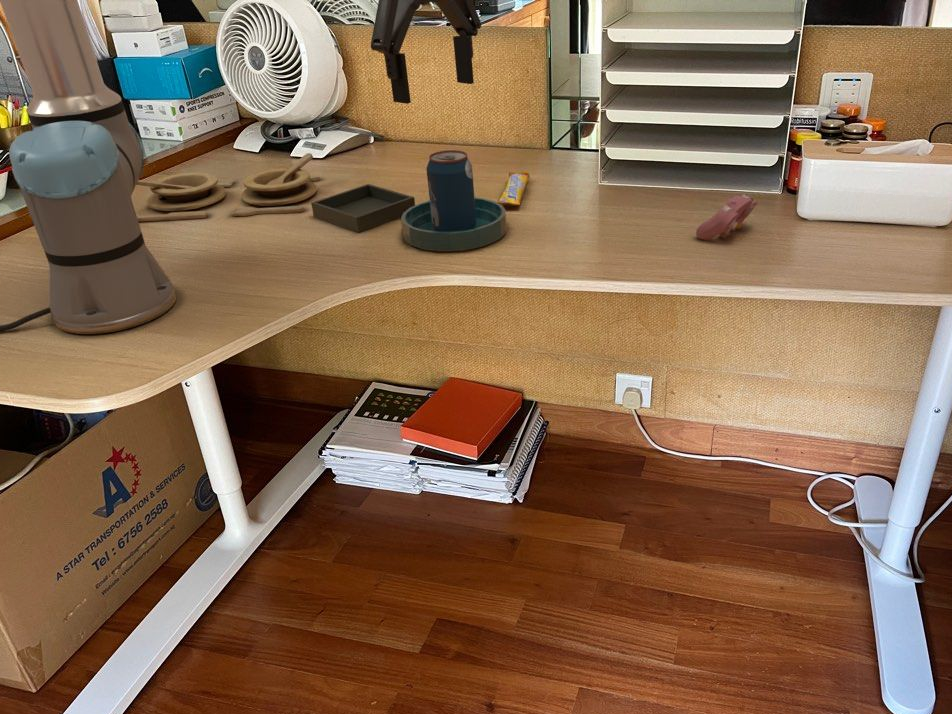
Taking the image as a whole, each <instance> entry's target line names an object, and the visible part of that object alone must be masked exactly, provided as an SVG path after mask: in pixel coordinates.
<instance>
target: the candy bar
mask: <svg viewBox="0 0 952 714" xmlns="http://www.w3.org/2000/svg"><path fill="white" fill-rule="evenodd" d="M508 178H509V179H508V181H507V184H506V186H505V189H504V190H503V192H502V194H501V196H500V198H499V200H498V201H496V202H497V203H499V204H501V205H502V206H509V207H511V206H512V207H513V206H514V207H515V206H521V201H522V198H523V197H524V193H525V190H526V187H527V184H528V181H529V179H530V178H531V177H530V173H529V172H528V171H520V172H518V173H516V172H508Z"/></svg>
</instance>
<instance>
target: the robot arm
mask: <svg viewBox="0 0 952 714" xmlns="http://www.w3.org/2000/svg"><path fill="white" fill-rule="evenodd" d="M429 3H435V4H436V6H437V7H438V9H439V10H440V11H441V13H442V14H443V16H444V18H446V20H447V21H448V23H449V24H450V26H451V27H452V28H453V30H454V31H455V33H456V34H457V35H454V36H452V39H453V51H454V61H455V70H456V71H455V73H456V74H455V75H456V83H458V84H466V85H472V84H474V83H475V81H474V69H473V68H474V67H473V59H474V48H473V47H474V46H473V37H477V35H478V34H479V33H478V31H479V30H480V29H481V27H482V21H481V19H480V17H479V14H478V12H477V9H476V6H475V4H474V1H473V0H378V3H377V8H376V12H375V13H376V14H375V19H374V25H373V29H372V35H371V40H370V48H371V50H372V51H376V52H378V53H379V54H383V56H384V63H385V70H386V76H387V79H388V80H389V79H390V87H391V93H392V101H393V102H394V103H398V104H399V103H400V104H405V105H406V104H407V105H408V104H411V103H412V100H411V93H410V84H409V77H408V68H407V60H406V53H405V52H404V53H403V52H401V49H402V47H403V44H404V41H405V39H406V37H407V34H408V31H409V28H410V27H411V23H412V20H413V18H414V15H415V13H416V11H417V10H419V9H420V7H421V6H423V5H427V4H429ZM0 6H1V10H2V12H3V14H4V17H5V20H6V23H7V25H8V28H9V31H10V34H11V36H12V39H13V42H14V44H15V45H14V46H15V47H16V50H17V52H18V56H19V59H20V61H21V64H22V66H23V69H24V71H25V75H26V77H27V81H28V83H29V86H30V89H31V91H32V99H31V101H30V102H29V104H28V106H27V107H26V109H25V111H26V114H27V117H28V120H29V122H30V125H31V129H32V130H27V131H25V132H22V133H21V134H20V135H19V136H17V137H16V138H15V139H14V140H13V141H12V143H11V144H10V147H9V150H8V156H9V160H10V164H11V171H12V175H13V177H14V180H15V182H16V183H17V185H18V187H19V189H20V191H21V194H22V197H23V200H24V202H25V204H26V205H25V206H26V207H27V210H28V213H29V215H30V218H31V220H32V223H33V225H34V229H35V231H36V234H37V236H38V239H39V241H40V244H41V246H42V249H43V252H44V254H45V257H46V260H47V263H48V267H49V306H48V307H46V308H43V309H40V310H38V311H35V312H33V313H30V314H28V315H26V316H23V317H21V318H19V319H17V320H15V321H12V322H10V323H6V324H1V325H0V332H5V331H10V330H13V329H15V328H18V327H20V326H23V325H24V324H27V323H29V322H31V321H33V320H36V319H38V318H41V317H43V316H46V315H49V314H50V315H51V317H52V320H53V322H54V325H55V326H56V327H57V328H58V329H60V330H61V331H64V332H66V333H70V334H77V335H98V334H99V335H100V334H107V333H112V332H113V333H115V332H119V331H123V330H128V329H131V328H134V327H137V326H138V327H139V326H140V325H143V324H146V323H148V322H151V321H152V320H156V319H157V318H158V317H160V316H162V315H163V314H165V313H166V312H167V311H169V310H170V309H171V308H172V307H173V306H174V304H175V303H176V301H177V295H176V291H175V288H174V285H173V284H172V281H171V279H170V277H169V276H168V274H166V272H165V270H163V268H162V267H161V265H160V264H159V262H158V261H157V259H156V258H155V256H154V255H153V254H152V252H151V251H150V250H149V248H148V247H147V245H146V242H145V239H144V236H143V232H142V229H141V226H140V222H138V219H137V216H138V215H137V212H136V209H135V206H134V202H133V199H132V195H133V193H134V191H135V189H136V187H137V185H136V184H137V182H138V180H141V179H140V178H141V176H142V173H143V169H144V165H145V163H144V161H145V154H144V148H143V144H142V141H141V139H140V136H139V134H138V133H137V131H136V130H135V128H134V127H133V125H132V124H131V123H130V122H129V119H128V116H127V112H126V109H125V106H124V103H123V100H122V97H121V96H120V95H119V94H118V93H117V92H115V91H114V90H112V89H111V88H109V87H108V86H107V85H106V84H105V83H104V80H103V76H102V73H101V71H100V70H101V69H100V67H99V64H98V63H99V62H98V61H97V57H96V53H95V51H94V48H93V44H92V42H91V38H90V35H89V31H88V29H87V26H86V23H85V20H84V16H83V14H82V10H81V7H80V4H79V1H78V0H0Z"/></svg>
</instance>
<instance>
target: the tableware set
mask: <svg viewBox="0 0 952 714" xmlns="http://www.w3.org/2000/svg"><path fill="white" fill-rule="evenodd" d="M313 159H314V156H313V154H312V153H311V152H308V153H305V154H304V155H302V156H301V158H299V159H298V160H297V161H296V162H295V163H294V164H293V165H292V166H290V167H287V168H286V167H283V168H282V167H281V168H274V169H273V168H272V169H266V170H262V171H259V172H255V173H253V174H250V175H248V176H246V178H244V179H243V182H242V183H243V187H244V188H245V189H244V190H243V191H242V192H241V199H242V200H243V201H244V202H245V203H247V204H250V205H254V206H263V207H261V208H260V207H252V206H248V207H247V206H245V207H244V206H243V207H235V208H234V210H233V211H232V212H231V214H230V215H231V216H233V217H234V216H237V217H238V216H239V217H243V216H245V217H247V216H253V215H260V214H261V215H264V214H265V215H266V214H294V213H303V212H305V206H303V205H291V204H295V203H298V202H301V201H304V200H307V199H309V198H310V197H312V196H314V195H315V194H316V193H317V190H318V187H317V186H318V185H316V183H314V182H318V181H320V176H319V175H311V174H310V172H308V170H305V169H301V168H303V167H304V166H305V165H307V164H308V163H309V162H310V161H312V160H313ZM233 184H235V181H234V180H225V179H219V178H218V177H217V176H216V175H215V174H212V173H209V172H201V171H200V172H199V171H198V172H197V171H196V172H182V173H176V174H170V175H168V176H163V177H160V178H158V179H155V180H154V181H148V180H142V179H139V180H138V182H137V184H136V186H142V187H148V188H149V190H150V191H151V192H152V193H151V194H150V195H149V196H148V197H147V199H146V203H147V205H148V207H149V208H151V209H153V210H156V211H161V212H169V213H166V214H140V215H136V216H137V219H138V222H139V223H141V222H157V221H159V222H160V221H174V220H176V221H178V220H194V219H195V220H196V219H207V218H208V212H207V211H206V210H202V211H201V210H200V211H196V209H200V208H203V207H206V206H209V205H212V204H215V203H217V202H219V201H221V200H222V199H224V198H225V196H226V195H227V190H226V188H231V187H232V186H233ZM284 205H285V206H284ZM286 205H289V206H286ZM264 206H265V207H264ZM269 206H270V207H269ZM273 206H274V207H273ZM190 210H195V211H190Z"/></svg>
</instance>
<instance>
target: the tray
mask: <svg viewBox="0 0 952 714" xmlns="http://www.w3.org/2000/svg"><path fill="white" fill-rule="evenodd" d="M310 205H311V210H312V215H313V216H312V217H313V218H316V219H319V220H321V221H324V222H327V223H330V224H333V225H336V226H339V227H341V228H344V229H348V230H350V231H353V232H356V233H362V232H364V231H367V230H369V229H372V228H374V227H377V226H381V225H383V224H385V223H388V222H391V221H394V220H397V219H399V218H401V217H402V215H403V213H404V212H405V211H406V210H408V209H409V208H411V207H413V206H415V205H416V199H415V196H413V195H408V194H405V193H402V192H398V191H394V190H392V189H387V188H384V187H382V186H377V185H374V184H370V183H367V184H363V185H360V186H357V187H354V188H351V189H348V190H345V191H342V192H340V193H336V194H333V195H330V196H328V197H324V198H321V199H318V200H315V201H312V202H311V203H310Z"/></svg>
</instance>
